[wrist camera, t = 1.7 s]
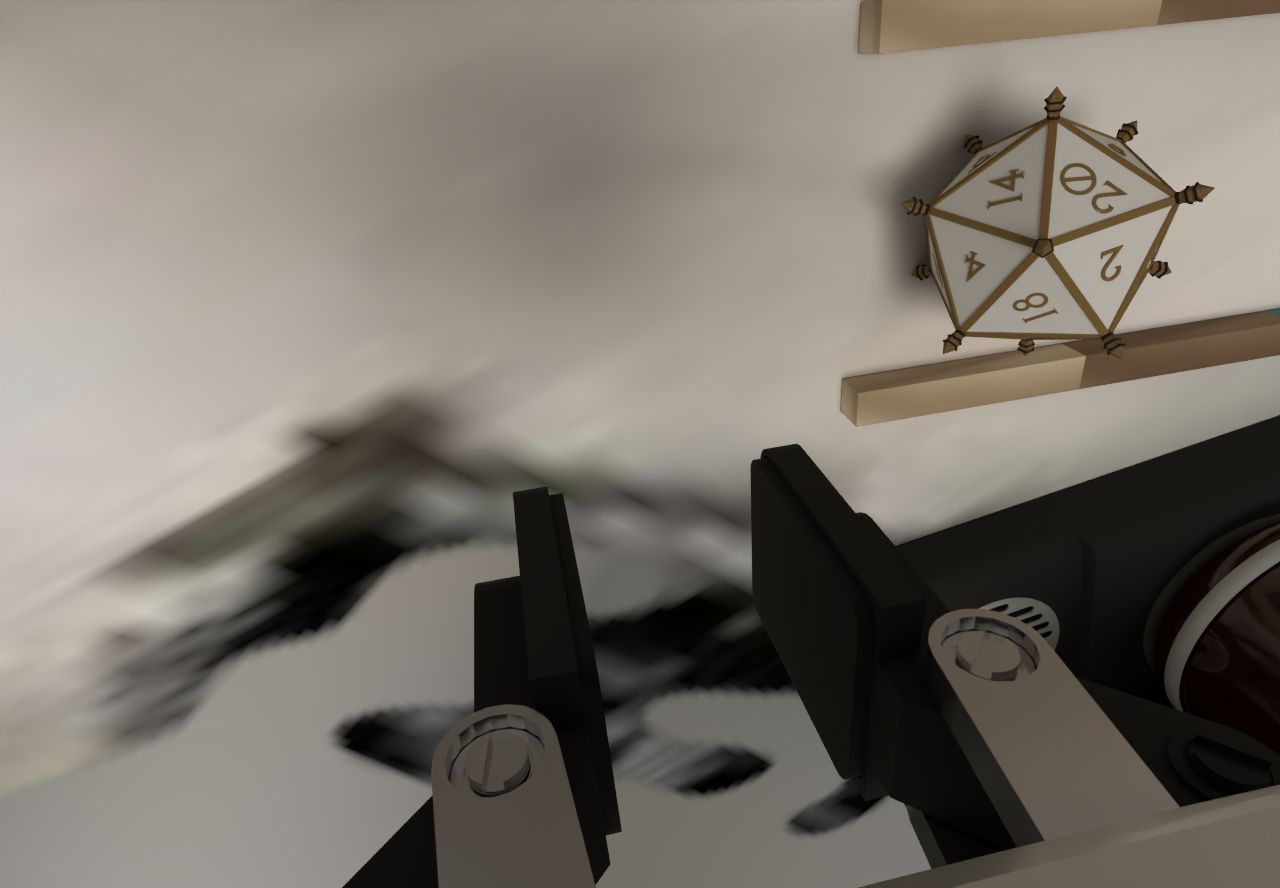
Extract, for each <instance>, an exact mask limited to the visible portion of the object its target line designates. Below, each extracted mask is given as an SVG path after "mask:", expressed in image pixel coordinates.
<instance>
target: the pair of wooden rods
mask: <svg viewBox="0 0 1280 888" xmlns="http://www.w3.org/2000/svg"><path fill="white" fill-rule="evenodd" d="M1270 13H1280V0H874V1H865V2H861V13H860V33H859V53H874V54H880V53H890V52H899V51H909V50H919V49H929V48H939V47H948V46H958V45H968V44H978V43H987V42H997V41H1007V40H1017V39H1026V38H1036V37H1046V36H1056V35H1065V34H1075V33H1085V32H1095V31H1104V30H1114V29H1124V28H1134V27H1143V26H1153V25H1163V24H1173V23H1182V22H1192V21H1202V20H1212V19H1222V18H1231V17H1241V16H1251V15H1261V14H1270ZM1114 336H1115V337H1117V338H1121V340H1120V341H1121V342H1122V344H1126V346H1125V347H1124V358H1123V359H1120V358H1117V357H1115V356H1112V355H1107V350H1106V349H1104V348H1103V347H1104V343H1103V341H1102V340H1101V339H1087V340H1081V341H1075V342H1068V343H1062V344H1056V345H1050V346H1044V347H1037V348H1034V351H1031V352H1030V353H1029V354H1028V355H1026V356H1024V355H1023V354H1022V353H1021V351H1012V352H1006V353H1000V354H994V355H988V356H981V357H975V358H969V359H963V360H956V361H950V362H944V363H938V364H932V365H925V366H919V367H913V368H907V369H901V370H894V371H888V372H882V373H876V374H869V375H863V376H857V377H851V378H845V379H842V397H841V412H842V413H843V414H844V415H845V416H846V417H847V418H848V419H849V420H850V421H851V422H852V423H853V424H854V425H855V426H856V427H858V426H864V425H870V424H876V423H882V422H888V421H894V420H899V419H905V418H911V417H917V416H923V415H929V414H935V413H941V412H946V411H952V410H958V409H964V408H970V407H976V406H982V405H988V404H994V403H999V402H1005V401H1011V400H1017V399H1023V398H1029V397H1035V396H1041V395H1047V394H1052V393H1058V392H1064V391H1070V390H1076V389H1082V388H1088V387H1094V386H1100V385H1105V384H1111V383H1117V382H1123V381H1129V380H1135V379H1141V378H1147V377H1153V376H1158V375H1164V374H1170V373H1176V372H1182V371H1188V370H1194V369H1200V368H1205V367H1211V366H1217V365H1223V364H1229V363H1235V362H1241V361H1247V360H1253V359H1258V358H1264V357H1270V356H1276V355H1280V309H1274V310H1268V311H1261V312H1255V313H1249V314H1243V315H1236V316H1230V317H1224V318H1218V319H1212V320H1205V321H1199V322H1193V323H1187V324H1180V325H1174V326H1168V327H1162V328H1156V329H1149V330H1143V331H1137V332H1131V333H1124V334H1118V335H1114Z"/></svg>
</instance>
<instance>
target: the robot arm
mask: <svg viewBox="0 0 1280 888" xmlns="http://www.w3.org/2000/svg"><path fill="white" fill-rule="evenodd" d="M513 500H514V511H515V523H516V534H517V546H518V557H519V569H520V576H516V577H510V578H505V579H499V580H494V581H489V582H483V583H478V584H475V589H474V590H475V591H474V713H472V714H470V715H468V716H467V717H466V718H464V719H463V720H461V721H460V722H458V723H457V724H456V725H454V726H453V727H452V728H451V729H450V731H449V732H448V733H447V734H446V735H445V736H444V737H443V738H442V740H441V741H440V743H439V745H438V747H437V749H436V752H435V754H434V756H433V762H432V770H431V777H432V792H433V795H432V797H431V798H430V799H429V800H428V801H427V802H426V803H425V804H424V805H423V806H422V807H421V808H420V809H419V810H418V811H417V812H416V813H415V814H414V815H413V816H412V817H411V818H410V819H409V820H408V821H407V822H406V823H405V824H404V825H403V826H402V827H401V828H400V829H399V830H398V831H397V832H396V833H395V834H394V835H393V836H392V838H390V839H389V841H387V842H386V843H385V844H384V846H383V847H382V848H381V849H380V850H379V851H378V852H377V853H376V854H375V855H374V856H373V857H372V858H371V859H370V860H369V861H368V862H367V863H366V864H365V865H364V866H363V867H362V868H361V869H360V870H359V871H358V872H357V873H356V874H355V875H354V876H353V877H352V878H351V879H350V880H349V881H348V882H347V883H346V884H345V886H343V887H342V888H596V887H595V885H596V884H597V882H598V881H599V879H600V878H601V876H602V875H603V874H604V872H605V871H606V869H607V868H608V867H609V865H610V859H609V853H608V847H607V842H606V835H609V834H614V833H618V832H621V824H620V817H619V810H618V804H617V797H616V790H615V783H614V777H613V770H612V763H611V757H610V750H609V743H608V737H607V730H606V723H605V717H604V710H603V703H602V696H601V690H600V683H599V677H598V671H597V665H596V660H595V654H594V649H593V644H592V639H591V634H590V629H589V623H588V618H587V613H586V608H585V603H584V598H583V593H582V589H581V583H580V578H579V574H578V568H577V563H576V558H575V553H574V548H573V543H572V538H571V533H570V528H569V523H568V518H567V513H566V508H565V503H564V497H563V493H560V494H554V495H549V493H548V487H541V488H535V489H529V490H523V491H517V492H513ZM751 522H752V589H753V598H754V603H755V606H756V610H757V612H758V614H759V616H760V618H761V620H762V622H763V624H764V626H765V628H766V630H767V632H768V634H769V636H770V638H771V640H772V642H773V644H774V646H775V648H776V650H777V652H778V654H779V656H780V658H781V660H782V662H783V664H784V666H785V668H786V670H787V672H788V674H789V676H790V678H791V680H792V682H793V684H794V686H795V688H796V690H797V692H798V694H799V696H800V698H801V700H802V702H803V704H804V706H805V708H806V710H807V712H808V714H809V716H810V718H811V720H812V722H813V724H814V726H815V728H816V730H817V732H818V734H819V736H820V738H821V740H822V742H823V744H824V746H825V748H826V750H827V752H828V754H829V756H830V758H831V760H832V762H833V764H834V766H835V768H836V770H837V772H838V773H839V775H840V776H841V777H842V779H849V778H853V779H854V781H855V783H856V785H857V787H858V789H859V791H860V792H861V794H862V796H863V798H864V800H865V801H867V800H871V799H875V798H879V797H884V796H888V795H889V796H890V797H891V798H893V799H895V800H897V801H900V802H902V803H904V804H906V808H907V812H908V815H909V819H910V822H911V824H912V826H913V829H914V831H915V833H916V835H917V838H918V840H919V842H920V844H921V846H922V849H923V851H924V853H925V856H926V858H927V860H928V862H929V865H930V867H931V869H930V870H926V871H922V872H918V873H914V874H910V875H906V876H902V877H898V878H894V879H890V880H886V881H882V882H878V883H875V884H871V885H867V886H863V887H859V888H1280V756H1279V755H1278V754H1277V753H1276V752H1275V751H1273V750H1272V749H1271V748H1269V747H1268V746H1266V745H1264V744H1263V743H1261V742H1259V741H1258V740H1256V739H1254V738H1253V737H1251V736H1249V735H1247V734H1245V733H1242V732H1240V731H1237V730H1235V729H1233V728H1230V727H1228V726H1225V725H1222V724H1219V723H1216V722H1213V721H1210V720H1207V719H1204V718H1201V717H1198V716H1195V715H1191V714H1188V713H1185V712H1182V711H1179V710H1176V709H1173V708H1170V707H1167V706H1164V705H1161V704H1158V703H1155V702H1152V701H1149V700H1146V699H1143V698H1139V697H1136V696H1133V695H1130V694H1127V693H1124V692H1121V691H1118V690H1115V689H1112V688H1109V687H1106V686H1103V685H1100V684H1097V683H1094V682H1091V681H1087V680H1084V679H1081V678H1078V677H1075V676H1074V675H1073V674H1072V672H1071V671H1070V670H1069V669H1068V667H1067V666H1066V665H1065V664H1064V662H1063V661H1062V660H1061V659H1060V657H1059V656H1058V655H1057V654H1056V652H1055V651H1054V650H1053V649H1052V648H1051V646H1050V645H1049V644H1048V643H1047V641H1046V640H1045V639H1044V638H1043V637H1042V636H1041V635H1040V634H1039V633H1038V632H1037V631H1035V630H1034V629H1033V628H1032V627H1030V626H1029V625H1027V624H1025V623H1023V622H1022V621H1020V620H1018V619H1017V618H1014V617H1011V616H1009V615H1006V614H1003V613H1000V612H996V611H991V610H985V609H960V610H956V611H953V612H950V611H949V610H948V608H947V607H946V606H945V605H944V604H943V602H942V601H941V600H940V599H939V598H938V597H937V595H936V594H935V593H934V592H933V591H932V589H931V588H930V587H929V586H928V585H927V583H926V582H925V581H924V580H923V579H922V578H921V576H920V575H919V574H918V573H917V572H916V570H915V569H914V568H913V567H912V566H911V565H910V563H909V562H908V561H907V560H906V559H905V557H904V556H903V555H902V554H901V553H900V551H899V550H898V549H897V548H896V547H895V546H894V544H893V543H892V542H891V541H890V540H889V538H888V537H887V536H886V535H885V534H884V533H883V531H882V530H881V529H880V528H879V527H878V525H877V524H876V523H875V522H874V521H873V519H872V518H870V517H869V516H868V515H867V514H865V513H861V512H860V513H855V512H854V511H853V510H852V508H851V507H850V506H849V505H848V503H847V502H846V501H845V500H844V499H843V497H842V496H841V495H840V494H839V492H838V491H837V490H836V489H835V488H834V486H833V485H832V484H831V483H830V481H829V480H828V479H827V478H826V477H825V475H824V474H823V473H822V472H821V470H820V469H819V468H818V467H817V466H816V464H815V463H814V462H813V461H812V459H811V458H810V457H809V456H808V455H807V453H806V452H805V451H804V450H803V448H802V447H801V446H800V445H798V444H792V445H786V446H780V447H775V448H769V449H764V450H763V451H762V454H761V459H757V460H753V461H752V463H751Z"/></svg>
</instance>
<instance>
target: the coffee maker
mask: <svg viewBox="0 0 1280 888" xmlns="http://www.w3.org/2000/svg"><path fill="white" fill-rule="evenodd" d="M896 548H897V549H898V550H899V551H900V553H901V554H902V555H903V556H904V557H905V559H906V560H907V561H908V562H909V563H910V565H911V566H912V567H913V568H914V569H915V570H916V572H917V573H918V574H919V575H920V576H921V578H922V579H923V580H924V581H925V582H926V583H927V585H928V586H929V587H930V588H931V589H932V591H933V592H934V593H935V594H936V595H937V597H938V598H939V599H940V600H941V601H942V602H943V604H944V605H945V606H946V607H947V608H948V610H949V611H950V612H953V611H956V610H960V609H985V610H991V611H996V612H1000V613H1003V614H1006V615H1009V616H1011V617H1014V618H1017V619H1018V620H1020V621H1022V622H1023V623H1025V624H1027V625H1029V626H1030V627H1032V628H1033V629H1034V630H1035V631H1037V632H1038V633H1039V634H1040V635H1041V636H1042V637H1043V638H1044V639H1045V640H1046V641H1047V643H1048V644H1049V645H1050V646H1051V648H1052V649H1053V650H1054V651H1055V652H1056V654H1057V655H1058V656H1059V657H1060V659H1061V660H1062V661H1063V662H1064V664H1065V665H1066V666H1067V667H1068V669H1069V670H1070V671H1071V672H1072V674H1073V675H1074V676H1075V677H1078V678H1081V679H1084V680H1087V681H1091V682H1094V683H1097V684H1100V685H1103V686H1106V687H1109V688H1112V689H1115V690H1118V691H1121V692H1124V693H1127V694H1130V695H1133V696H1136V697H1139V698H1143V699H1146V700H1149V701H1152V702H1155V703H1158V704H1161V705H1164V706H1167V707H1170V708H1173V709H1176V710H1179V711H1182V712H1185V713H1188V714H1191V715H1195V716H1198V717H1201V718H1204V719H1207V720H1210V721H1213V722H1216V723H1219V724H1222V725H1225V726H1228V727H1230V728H1233V729H1235V730H1237V731H1240V732H1242V733H1245V734H1247V735H1249V736H1251V737H1253V738H1254V739H1256V740H1258V741H1259V742H1261V743H1263V744H1264V745H1266V746H1268V747H1269V748H1271V749H1272V750H1273V751H1275V752H1276V753H1277V754H1278V755H1279V756H1280V416H1279V417H1276V418H1273V419H1270V420H1267V421H1264V422H1261V423H1258V424H1255V425H1252V426H1249V427H1247V428H1244V429H1241V430H1238V431H1235V432H1232V433H1229V434H1226V435H1223V436H1220V437H1217V438H1214V439H1211V440H1208V441H1205V442H1203V443H1200V444H1197V445H1194V446H1191V447H1188V448H1185V449H1182V450H1179V451H1176V452H1173V453H1170V454H1167V455H1164V456H1161V457H1159V458H1156V459H1153V460H1150V461H1147V462H1144V463H1141V464H1138V465H1135V466H1132V467H1129V468H1126V469H1123V470H1120V471H1118V472H1115V473H1112V474H1109V475H1106V476H1103V477H1100V478H1097V479H1094V480H1091V481H1088V482H1085V483H1082V484H1079V485H1076V486H1074V487H1071V488H1068V489H1065V490H1062V491H1059V492H1056V493H1053V494H1050V495H1047V496H1044V497H1041V498H1038V499H1035V500H1032V501H1030V502H1027V503H1024V504H1021V505H1018V506H1015V507H1012V508H1009V509H1006V510H1003V511H1000V512H997V513H994V514H991V515H988V516H986V517H983V518H980V519H977V520H974V521H971V522H968V523H965V524H962V525H959V526H956V527H953V528H950V529H947V530H945V531H942V532H939V533H936V534H933V535H930V536H927V537H924V538H921V539H918V540H915V541H912V542H909V543H906V544H903V545H901V546H898V547H896ZM905 806H906V804H905Z"/></svg>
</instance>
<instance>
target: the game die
mask: <svg viewBox="0 0 1280 888" xmlns="http://www.w3.org/2000/svg"><path fill="white" fill-rule="evenodd" d="M1065 100H1066V97H1064V96H1063V94H1062V93H1061V91H1060V90H1059V88H1058V87H1056V88H1055V89H1054V91H1053V92H1052V93H1051V94H1050V96H1049V97H1048V98H1046V99H1045V102H1046V107H1044V109H1045V110H1046V111H1047V117H1046V118H1045V119H1043V120H1041V121H1039V122H1037V123H1035V124H1033V125H1031V126H1028V127H1026V128H1024V129H1022V130H1020V131H1018V132H1016V133H1014V134H1012V135H1010V136H1008V137H1005V138H1003V139H1001V140H999V141H997V142H995V143H993V144H991V145H989V146H987V147H984V148H982V141H981V140H979V135H978V136H972V135H967V136H966V143H965V145H964V147H965V148H967V149H968V150H967V151H968V152H970V153H973V154H974V156H973V157H972V158H971V159H970V160H969V161H968V162H967V163H966V164H965V165H964V166H963V167H962V168H961V170H960V171H959V172H958V173H957V174H956V175H955V176H954V177H953V178H952V179H951V180H950V181H949V182H948V184H947V185H946V186H945V187H944V188H943V189H942V190H941V191H940V192H939V193H938V194H937V195H936V196H935V198H934V199H933V200H932V201H931V202H930V203H929V204H925V203H923V201H922V199H920V200H917V199H916V198H915V197H913V199H911V200H908V201H905V202H903V203H901V204H902V206H903V207H904V208H905V210H906V211H907V214H908V215H909V214H914V216H916V215H919V214H923V215H924V217H925V227H926V236H927V246H928V255H929V265H922V266H917V269H916V270H915V272H914V273H913V274H912V275H913V276H915V277H917V278H919V279H920V280H923V278H928V277H929V276H930V275H931V274H932V276H933V278H934V280H935V283H936V285H937V287H938V290H939V292H940V294H941V297H942V299H943V301H944V304H945V306H946V308H947V311H948V313H949V315H950V318H951V320H952V322H953V325H954V327H955V329H956V330H955V332H954V333H953V334H951V335H948V338H947V339H946V340H943V342H944V347H943V354H945V353H948V352H951V351H954V350H955V351H957V347H958V346H959V345H961V344H962V343H961V341H962V338H963V337H965V336H969V337H987V338H1005V339H1021V341H1020V342H1019V344H1018V345H1020V346H1019V347H1018V349H1017V350H1019V351H1021V353H1022V354H1023V355H1024V356H1026V355H1028V354H1029V353H1030V352H1031V351H1034V347H1033V346H1034V345H1035V344H1034V342H1033V340H1054V339H1101V340H1102V341H1103V343H1104V347H1103V348H1104V349H1106V350H1107V355H1112V356H1115V357H1117V358H1120V359H1123V358H1124V347H1125V346H1126V344H1122V342H1121V341H1120V340H1121V338H1117V337H1115V336H1114V335H1113V331H1114V330H1115V328H1116V326H1117V324H1118V323H1119V321H1120V319H1121V318H1122V316H1123V314H1124V312H1125V311H1126V309H1127V307H1128V306H1129V304H1130V302H1131V300H1132V299H1133V297H1134V295H1135V294H1136V292H1137V290H1138V288H1139V287H1140V285H1141V283H1142V282H1143V280H1144V278H1145V276H1146V275H1147V273H1148V272H1149V273H1150V275H1151V276H1156V277H1157V278H1161V277H1162V276H1164V275H1166V274H1169V273H1172V272H1171V270H1170V269H1169V267H1168V262H1163V263H1161V261H1155V262H1153V261H1154V259H1155V257H1156V255H1157V252H1158V250H1159V248H1160V246H1161V244H1162V241H1163V239H1164V237H1165V235H1166V233H1167V230H1168V228H1169V226H1170V224H1171V222H1172V219H1173V217H1174V215H1175V213H1176V211H1177V208H1178V206H1179V204H1181V203H1188V204H1193V202H1196V201H1199V202H1203V198H1205V197H1206V196H1207V195H1208V194H1209V193H1210V192H1211V191H1212V190H1213V189H1214V188H1213V187H1209V186H1205V185H1201V184H1199V182H1197V183H1196V184H1195V185H1194V186H1191V187H1190V186H1186V188H1185V189H1184V190H1182V191H1181V192H1175V191H1174V190H1173V189H1172V188H1171V187H1170V186H1169V185H1168V184H1167V183H1166V182H1165V181H1164V180H1163V179H1162V178H1161V177H1160V176H1159V175H1158V174H1156V173H1155V172H1154V171H1153V170H1152V169H1151V168H1150V167H1149V166H1148V165H1147V164H1146V163H1145V162H1144V161H1143V160H1142V159H1141V158H1140V157H1139V156H1138V155H1136V154H1135V153H1134V152H1133V151H1132V150H1131V149H1130V148H1129V147H1128V146H1127V145H1126V144H1125V143H1126V142H1127V141H1130V140H1132V139H1133V136H1134V135H1137V134H1138V131H1137V121H1134V122H1131V123H1128V124H1124V123H1123V125H1122V128H1121V130H1120V129H1119V130H1118V133H1117V137H1116V138H1114V137H1112V136H1109V135H1106V134H1104V133H1101V132H1099V131H1096V130H1094V129H1091V128H1088V127H1086V126H1083V125H1081V124H1078V123H1076V122H1073V121H1070V120H1068V119H1065V118H1063V117H1060V112H1061V111H1062V109H1063V108H1064V107H1065V105H1063V103H1064V101H1065Z"/></svg>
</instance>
